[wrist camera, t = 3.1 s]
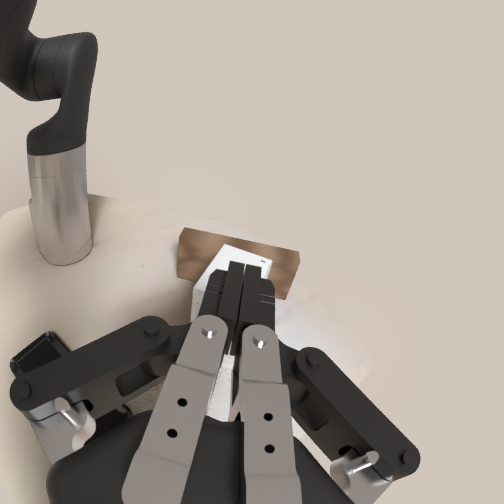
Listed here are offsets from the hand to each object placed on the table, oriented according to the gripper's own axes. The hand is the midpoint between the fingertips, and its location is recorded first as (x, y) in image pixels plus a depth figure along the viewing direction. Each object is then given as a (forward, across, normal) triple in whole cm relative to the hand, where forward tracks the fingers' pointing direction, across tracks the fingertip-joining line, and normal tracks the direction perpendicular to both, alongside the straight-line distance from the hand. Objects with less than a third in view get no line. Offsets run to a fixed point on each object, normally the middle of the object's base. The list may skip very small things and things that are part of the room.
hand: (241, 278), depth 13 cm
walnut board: (+20, 0, +18) cm, 27 cm away
